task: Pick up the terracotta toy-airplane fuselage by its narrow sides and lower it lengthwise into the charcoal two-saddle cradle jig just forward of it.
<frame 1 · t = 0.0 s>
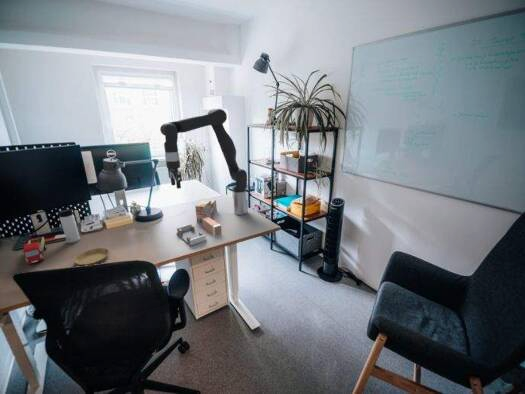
hand: (176, 186, 146), 29 cm above the table, fingers open, 8 cm apart
toy truck: (38, 256, 130), on the table
cradle jig: (191, 237, 148), on the table
travel mug: (74, 241, 144), on the table
plant saucer: (93, 260, 127), on the table
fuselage: (212, 230, 156), on the table
stack of blocks: (207, 216, 177), on the table
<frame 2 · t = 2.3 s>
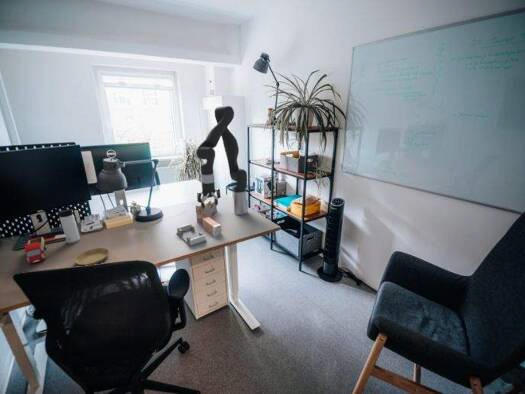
hand: (209, 206, 151), 16 cm above the table, fingers open, 8 cm apart
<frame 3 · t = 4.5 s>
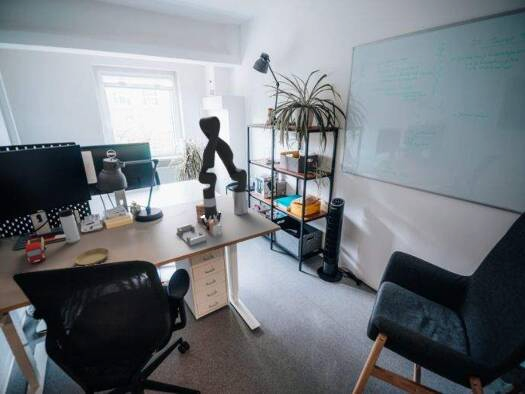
hand: (212, 229, 156), 1 cm above the table, fingers closed on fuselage, 4 cm apart
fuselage: (212, 230, 156), on the table, touching gripper
everything else where it was.
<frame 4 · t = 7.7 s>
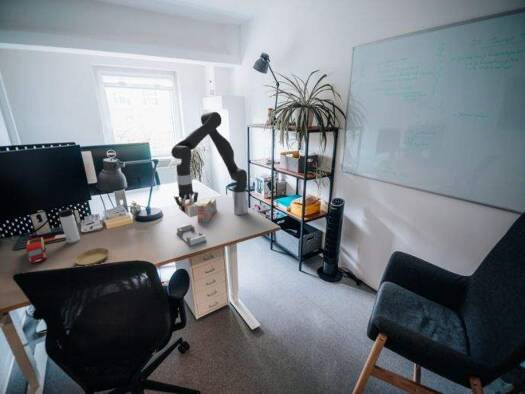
hand: (188, 210, 142), 17 cm above the table, fingers closed on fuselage, 4 cm apart
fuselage: (188, 211, 142), point 17 cm above the table, touching gripper
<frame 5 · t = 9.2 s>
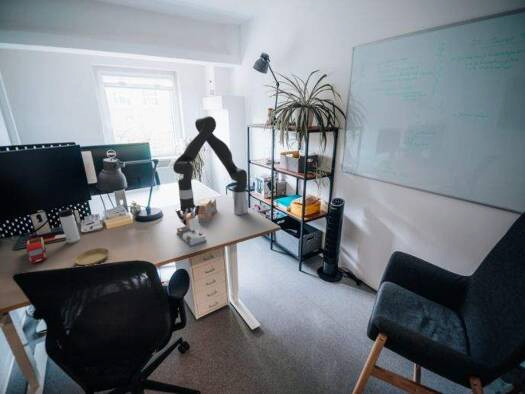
hand: (189, 223, 145), 9 cm above the table, fingers closed on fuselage, 4 cm apart
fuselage: (189, 224, 145), point 8 cm above the table, touching gripper
when the fingers open (3 cm above the table, at t = 10.7 s): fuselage drops 1 cm, resting on cradle jig.
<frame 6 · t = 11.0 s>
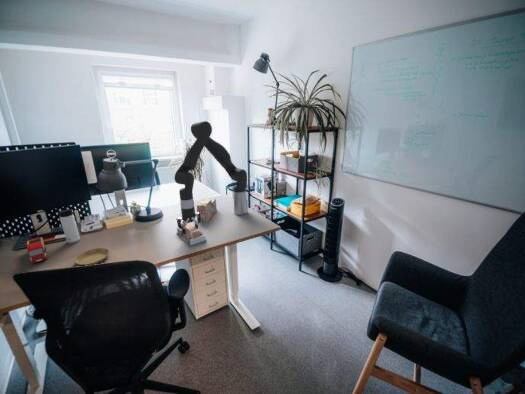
hand: (190, 231, 146), 4 cm above the table, fingers open, 7 cm apart
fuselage: (191, 235, 147), point 1 cm above the table, touching cradle jig
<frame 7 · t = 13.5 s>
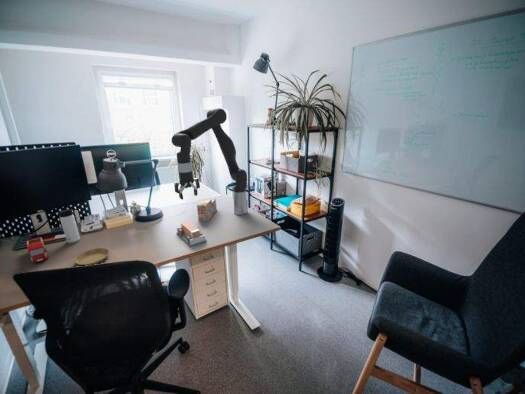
hand: (188, 197, 144), 24 cm above the table, fingers open, 8 cm apart
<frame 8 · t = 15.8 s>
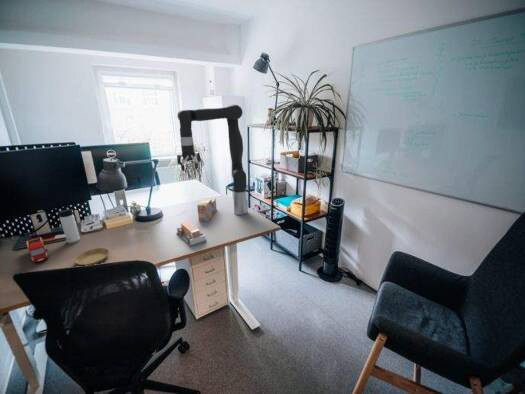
hand: (190, 169, 157), 36 cm above the table, fingers open, 8 cm apart
at the end: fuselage 0.0 cm off-centre on the cradle jig, point 1.0 cm above the cradle jig's base; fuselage tilted 0°; the gripper is holding nothing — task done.
